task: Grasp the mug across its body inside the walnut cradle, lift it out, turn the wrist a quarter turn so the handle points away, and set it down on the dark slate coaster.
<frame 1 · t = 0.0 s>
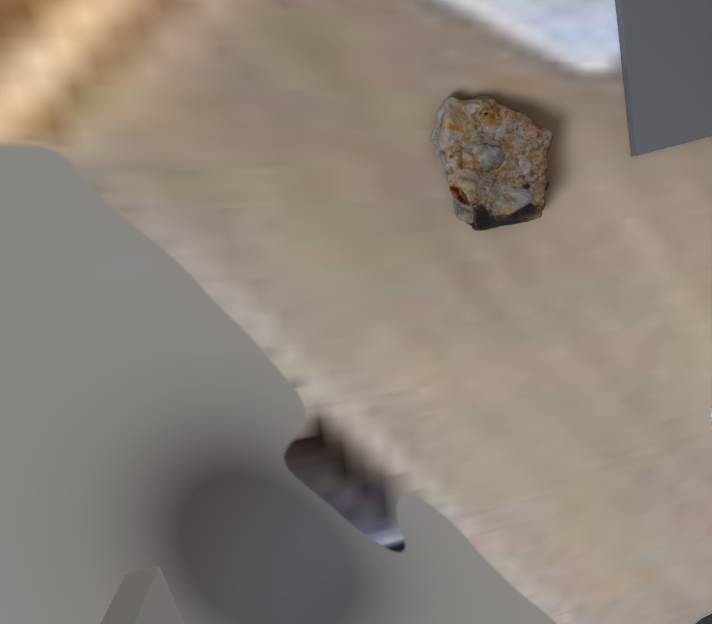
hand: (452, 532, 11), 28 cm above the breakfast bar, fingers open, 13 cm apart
rock: (480, 167, 37), on the breakfast bar
coaster: (707, 40, 36), on the breakfast bar
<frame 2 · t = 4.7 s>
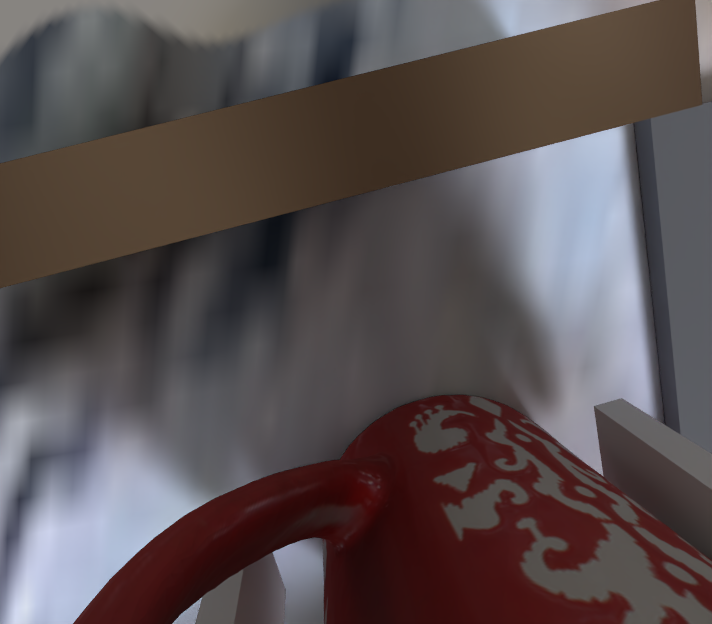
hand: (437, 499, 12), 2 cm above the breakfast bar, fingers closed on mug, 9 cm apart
mug: (402, 469, 14), on the breakfast bar, touching gripper
cradle: (407, 472, 14), on the breakfast bar
when the fingers open (4 cm above the breakfast bar, at t = 11.3 s): mug drops 1 cm, resting on coaster.
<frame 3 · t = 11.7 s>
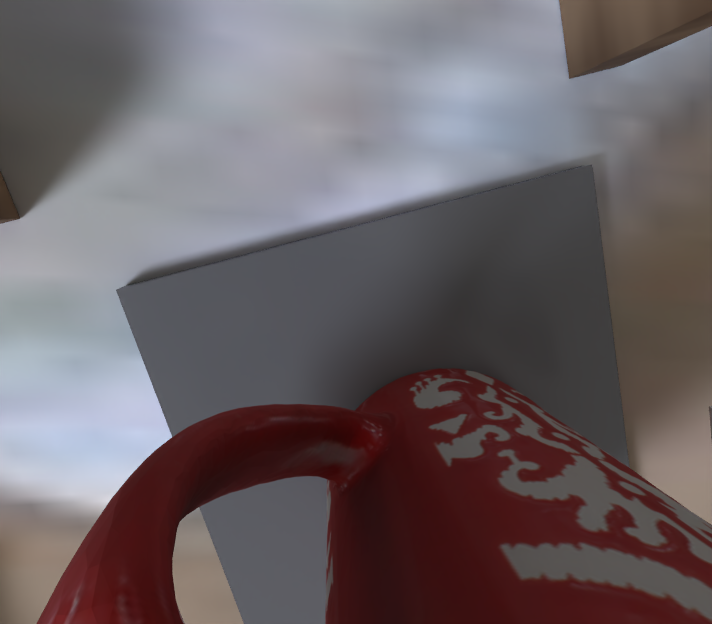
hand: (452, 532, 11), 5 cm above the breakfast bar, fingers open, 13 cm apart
coaster: (408, 432, 16), on the breakfast bar
mug: (401, 437, 15), resting on coaster
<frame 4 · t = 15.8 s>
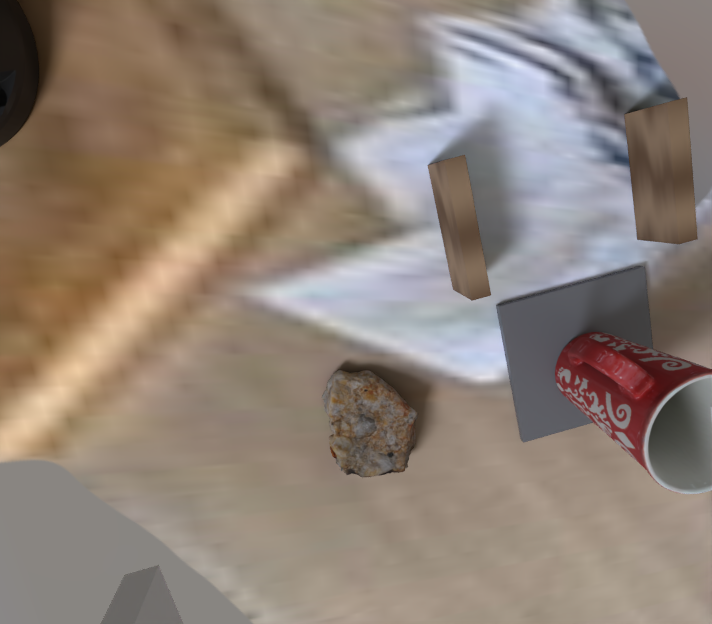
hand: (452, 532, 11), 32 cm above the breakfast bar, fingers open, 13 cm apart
rock: (364, 417, 45), on the breakfast bar
coaster: (578, 355, 45), on the breakfast bar
mug: (578, 355, 45), resting on coaster
cradle: (545, 201, 42), on the breakfast bar
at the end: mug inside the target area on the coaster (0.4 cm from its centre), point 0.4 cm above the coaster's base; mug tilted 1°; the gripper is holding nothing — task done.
